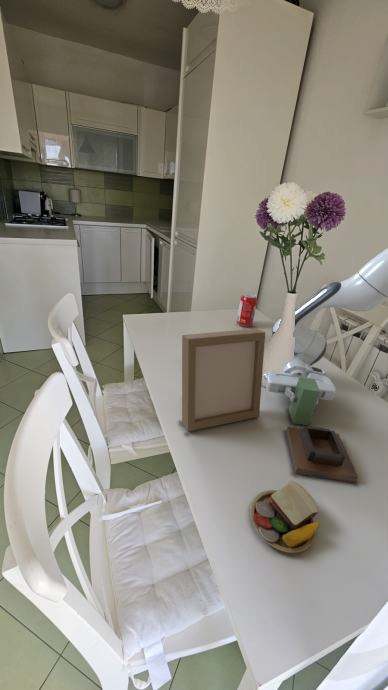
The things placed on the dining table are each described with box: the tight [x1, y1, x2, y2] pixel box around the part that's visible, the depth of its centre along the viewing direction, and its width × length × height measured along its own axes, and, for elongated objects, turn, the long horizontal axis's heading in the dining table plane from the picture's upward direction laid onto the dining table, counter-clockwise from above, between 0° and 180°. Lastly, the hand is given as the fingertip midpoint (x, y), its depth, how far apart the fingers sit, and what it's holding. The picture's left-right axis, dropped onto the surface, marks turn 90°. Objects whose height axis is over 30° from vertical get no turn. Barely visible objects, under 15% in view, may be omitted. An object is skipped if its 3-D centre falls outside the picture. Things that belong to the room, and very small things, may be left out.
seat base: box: [285, 425, 359, 484], centre depth 76 cm, size 14×14×5 cm
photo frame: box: [181, 328, 266, 432], centre depth 83 cm, size 15×22×25 cm
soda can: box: [236, 292, 258, 328], centre depth 145 cm, size 8×8×15 cm
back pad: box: [288, 377, 320, 426], centre depth 87 cm, size 4×6×12 cm
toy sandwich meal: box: [249, 480, 320, 554], centre depth 59 cm, size 12×14×5 cm
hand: (305, 401), depth 86 cm, fingers closed on back pad, 4 cm apart
